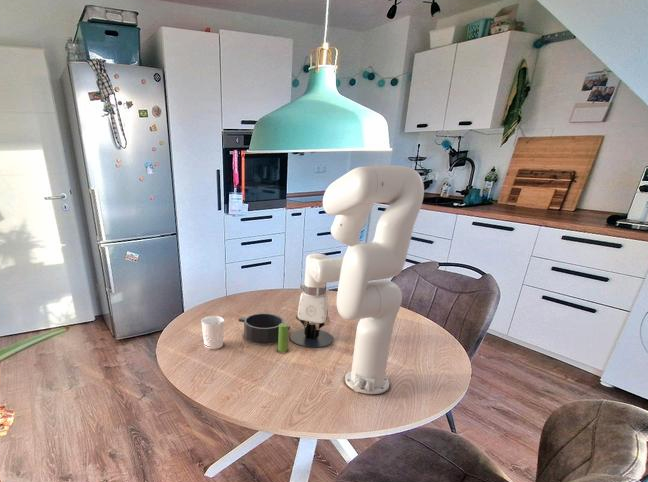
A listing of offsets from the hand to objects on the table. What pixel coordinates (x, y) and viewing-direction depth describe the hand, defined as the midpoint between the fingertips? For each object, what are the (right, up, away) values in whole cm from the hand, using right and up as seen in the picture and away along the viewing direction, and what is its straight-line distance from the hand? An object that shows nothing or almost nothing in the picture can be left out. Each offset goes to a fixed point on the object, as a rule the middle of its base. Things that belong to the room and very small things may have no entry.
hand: (311, 336), depth 142 cm
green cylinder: (-11, -5, -7) cm, 14 cm away
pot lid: (0, -1, 0) cm, 1 cm away
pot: (-17, 0, +4) cm, 18 cm away
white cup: (-36, -3, -3) cm, 36 cm away
